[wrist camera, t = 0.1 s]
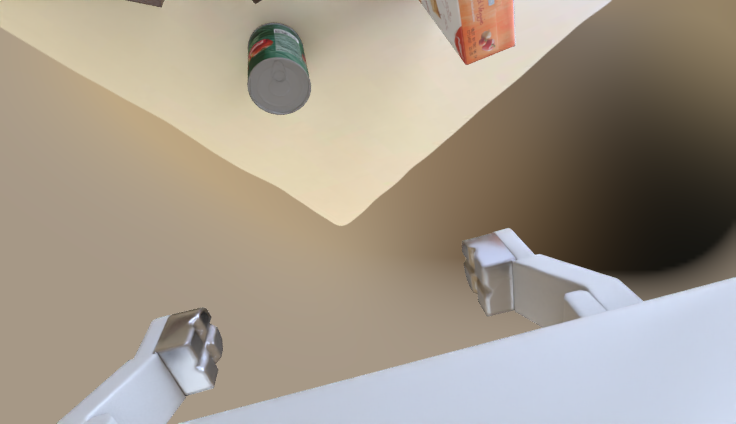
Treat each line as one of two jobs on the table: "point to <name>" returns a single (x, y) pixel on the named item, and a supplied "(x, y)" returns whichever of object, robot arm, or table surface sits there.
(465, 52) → the cracker box
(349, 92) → the table surface
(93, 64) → the table surface
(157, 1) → the cabinet
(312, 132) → the table surface
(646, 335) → the robot arm
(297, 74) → the canned tomato
